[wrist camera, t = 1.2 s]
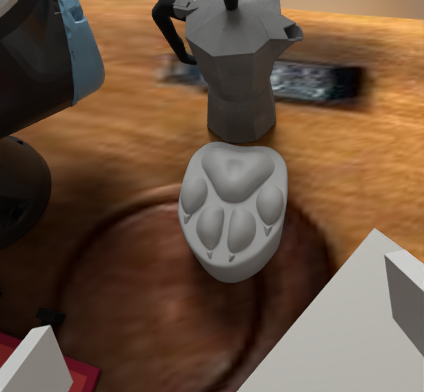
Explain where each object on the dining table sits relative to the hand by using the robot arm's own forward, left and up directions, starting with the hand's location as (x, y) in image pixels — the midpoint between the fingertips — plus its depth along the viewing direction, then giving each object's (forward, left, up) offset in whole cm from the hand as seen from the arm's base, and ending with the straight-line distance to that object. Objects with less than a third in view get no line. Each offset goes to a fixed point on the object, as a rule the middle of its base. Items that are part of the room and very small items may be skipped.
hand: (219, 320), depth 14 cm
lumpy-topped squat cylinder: (-12, +2, -25) cm, 28 cm away
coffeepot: (-27, +5, -25) cm, 37 cm away
